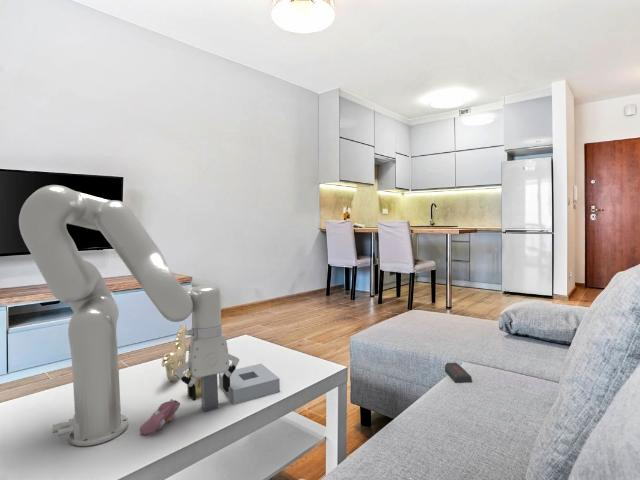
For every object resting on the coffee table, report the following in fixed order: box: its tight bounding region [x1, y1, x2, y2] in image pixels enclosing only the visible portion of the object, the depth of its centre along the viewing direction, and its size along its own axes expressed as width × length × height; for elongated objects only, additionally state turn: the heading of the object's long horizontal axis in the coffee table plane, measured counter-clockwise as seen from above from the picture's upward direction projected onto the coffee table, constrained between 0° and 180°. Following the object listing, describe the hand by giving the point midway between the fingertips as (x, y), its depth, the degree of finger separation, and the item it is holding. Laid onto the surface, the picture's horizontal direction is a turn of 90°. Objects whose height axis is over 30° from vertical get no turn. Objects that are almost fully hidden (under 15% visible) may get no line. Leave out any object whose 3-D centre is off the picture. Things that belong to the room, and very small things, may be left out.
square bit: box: [200, 374, 219, 413], centre depth 102 cm, size 4×4×10 cm
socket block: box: [218, 363, 281, 405], centre depth 113 cm, size 14×14×4 cm
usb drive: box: [443, 362, 473, 384], centre depth 120 cm, size 5×12×3 cm, turn 1°
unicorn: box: [161, 320, 188, 382], centre depth 121 cm, size 20×4×17 cm, turn 0°
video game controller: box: [139, 398, 181, 436], centre depth 93 cm, size 10×5×7 cm, turn 169°
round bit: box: [186, 369, 201, 400], centre depth 110 cm, size 6×6×7 cm
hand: (209, 394), depth 102 cm, fingers open, 8 cm apart
